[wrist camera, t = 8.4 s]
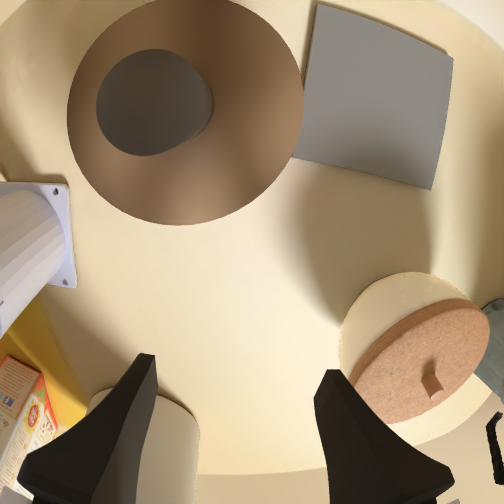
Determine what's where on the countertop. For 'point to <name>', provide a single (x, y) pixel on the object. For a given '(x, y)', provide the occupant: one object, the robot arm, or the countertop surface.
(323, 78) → the mat
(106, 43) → the lid
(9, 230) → the robot arm
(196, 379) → the countertop surface
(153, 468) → the cylinder vase
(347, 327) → the lidded jar
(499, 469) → the moka pot
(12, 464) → the cracker box
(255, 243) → the countertop surface
